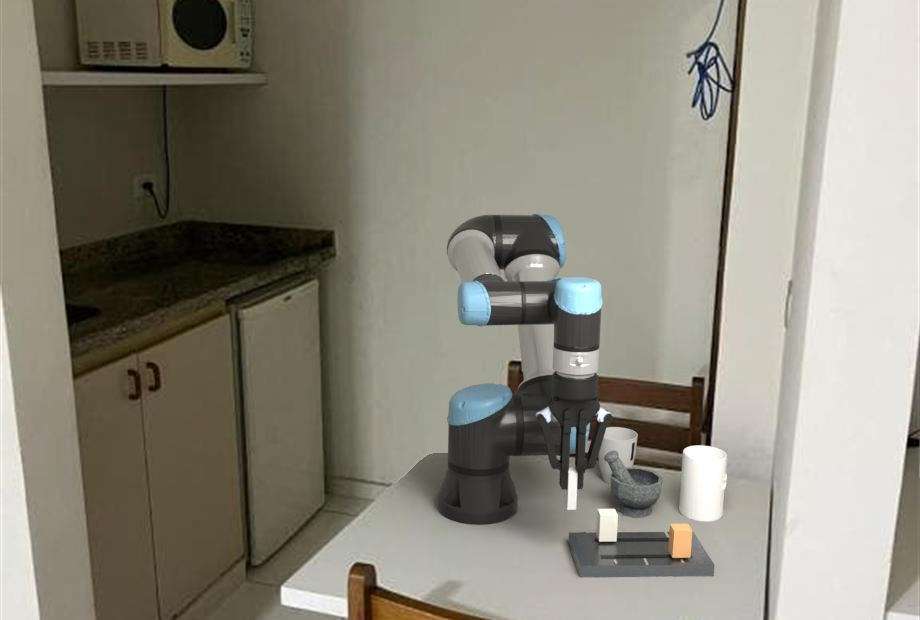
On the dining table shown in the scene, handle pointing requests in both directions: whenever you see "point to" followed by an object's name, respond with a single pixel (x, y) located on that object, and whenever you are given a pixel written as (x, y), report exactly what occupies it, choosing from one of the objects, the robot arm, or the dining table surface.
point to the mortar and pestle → (633, 487)
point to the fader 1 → (607, 525)
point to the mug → (703, 483)
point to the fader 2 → (680, 540)
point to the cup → (617, 449)
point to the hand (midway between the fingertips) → (570, 506)
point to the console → (636, 556)
